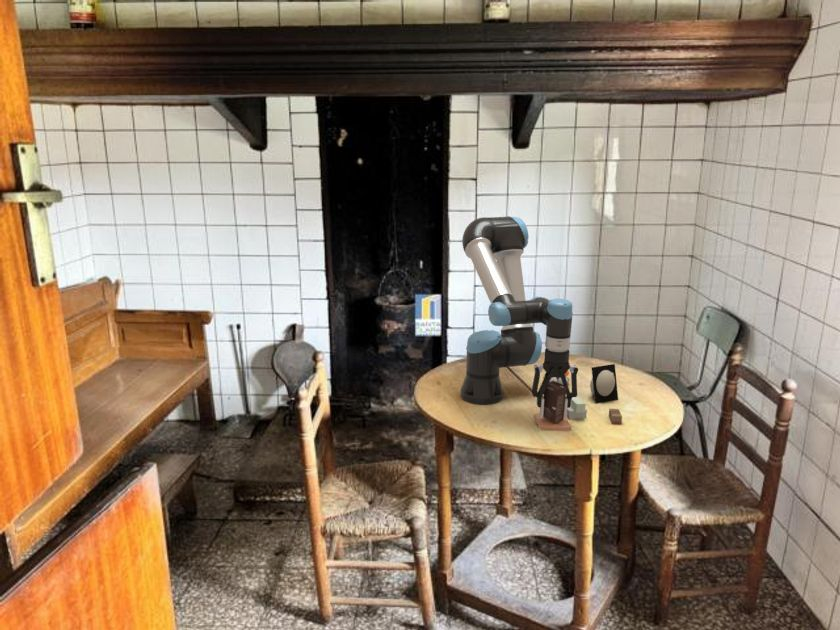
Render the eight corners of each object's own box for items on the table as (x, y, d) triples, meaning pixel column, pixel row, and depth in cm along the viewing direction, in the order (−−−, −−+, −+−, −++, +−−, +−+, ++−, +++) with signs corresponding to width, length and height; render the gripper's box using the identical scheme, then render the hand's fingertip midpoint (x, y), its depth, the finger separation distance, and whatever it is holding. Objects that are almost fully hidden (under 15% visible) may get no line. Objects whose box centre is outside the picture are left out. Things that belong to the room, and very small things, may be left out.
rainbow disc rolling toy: (571, 388, 236) (572, 369, 234) (544, 387, 236) (546, 369, 234) (566, 379, 244) (567, 362, 242) (541, 379, 245) (542, 361, 243)
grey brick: (569, 419, 210) (569, 411, 209) (565, 415, 212) (566, 407, 212) (586, 418, 211) (586, 410, 210) (582, 414, 213) (583, 406, 213)
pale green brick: (584, 412, 208) (585, 403, 207) (576, 412, 208) (576, 404, 207) (577, 405, 214) (578, 396, 213) (568, 405, 213) (569, 397, 212)
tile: (539, 429, 201) (539, 427, 201) (534, 416, 211) (534, 413, 211) (571, 430, 201) (571, 427, 201) (564, 417, 211) (564, 414, 211)
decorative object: (582, 401, 229) (604, 398, 233) (600, 404, 219) (623, 400, 223) (578, 366, 229) (601, 363, 232) (596, 367, 219) (620, 364, 223)
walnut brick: (621, 425, 206) (622, 416, 205) (611, 424, 206) (612, 416, 205) (617, 417, 212) (618, 408, 211) (608, 416, 212) (609, 408, 211)
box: (540, 417, 207) (543, 382, 204) (550, 414, 209) (554, 380, 206) (554, 424, 202) (557, 388, 199) (564, 421, 205) (567, 386, 201)
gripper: (527, 352, 196) (523, 420, 202) (591, 352, 196) (586, 421, 202) (524, 344, 203) (520, 411, 209) (586, 345, 203) (580, 411, 209)
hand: (552, 416), depth 206 cm, fingers open, 7 cm apart
